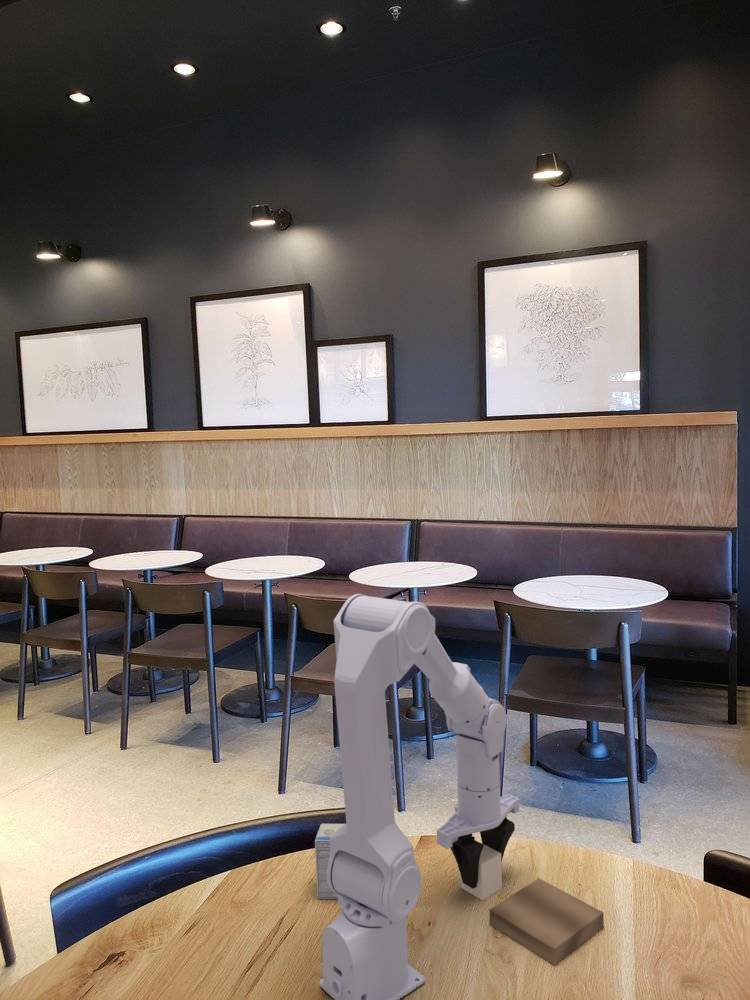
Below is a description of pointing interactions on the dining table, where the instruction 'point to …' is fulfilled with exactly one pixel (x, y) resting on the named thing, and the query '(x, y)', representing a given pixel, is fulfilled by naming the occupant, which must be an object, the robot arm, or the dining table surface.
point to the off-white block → (487, 874)
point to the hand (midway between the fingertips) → (481, 877)
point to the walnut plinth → (546, 920)
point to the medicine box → (324, 859)
